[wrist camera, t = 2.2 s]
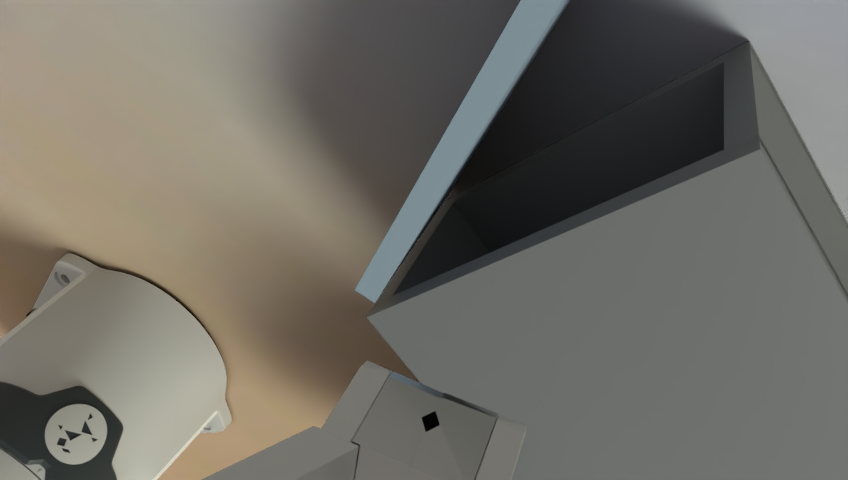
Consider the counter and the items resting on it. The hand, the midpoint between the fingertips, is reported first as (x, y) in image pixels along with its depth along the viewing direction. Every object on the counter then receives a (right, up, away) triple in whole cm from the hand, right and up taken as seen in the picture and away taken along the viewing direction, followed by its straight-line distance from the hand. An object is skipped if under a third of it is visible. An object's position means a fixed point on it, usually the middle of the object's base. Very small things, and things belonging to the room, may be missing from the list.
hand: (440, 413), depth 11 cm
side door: (+3, +11, +18) cm, 21 cm away
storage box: (+11, +3, +21) cm, 23 cm away
